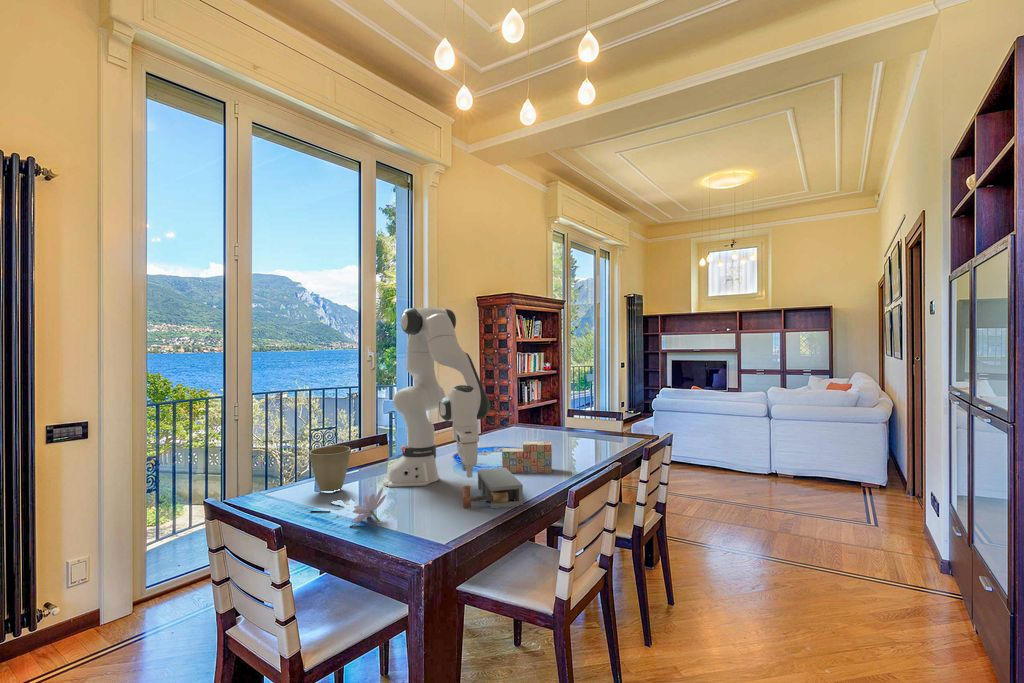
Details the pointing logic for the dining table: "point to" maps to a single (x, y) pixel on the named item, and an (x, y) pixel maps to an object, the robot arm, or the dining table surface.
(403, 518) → the dining table surface
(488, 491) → the shelf
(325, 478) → the plant pot
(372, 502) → the water lily
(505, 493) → the toy hammer
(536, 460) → the stack of blocks
